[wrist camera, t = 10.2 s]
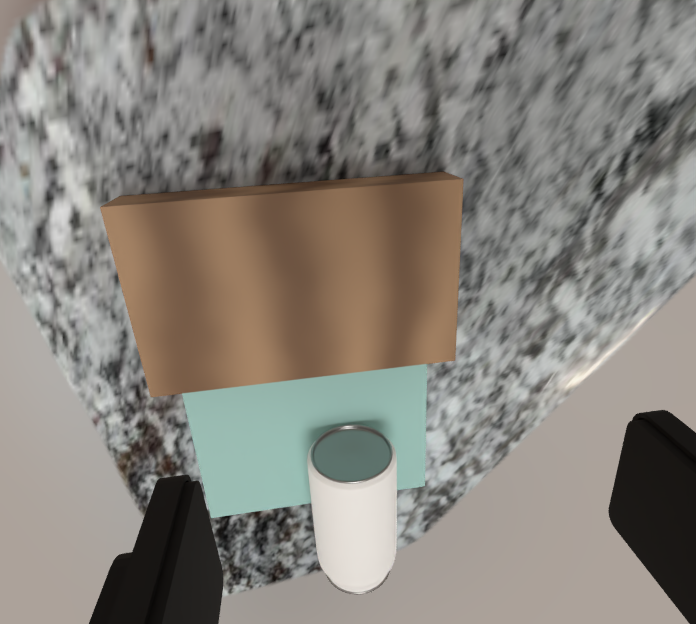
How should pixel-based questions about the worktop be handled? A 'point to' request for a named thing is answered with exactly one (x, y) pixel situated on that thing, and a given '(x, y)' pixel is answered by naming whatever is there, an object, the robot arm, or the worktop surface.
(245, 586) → the worktop surface
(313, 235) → the board
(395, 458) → the can
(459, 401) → the worktop surface
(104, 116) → the worktop surface
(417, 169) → the worktop surface
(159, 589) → the robot arm
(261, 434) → the mat
